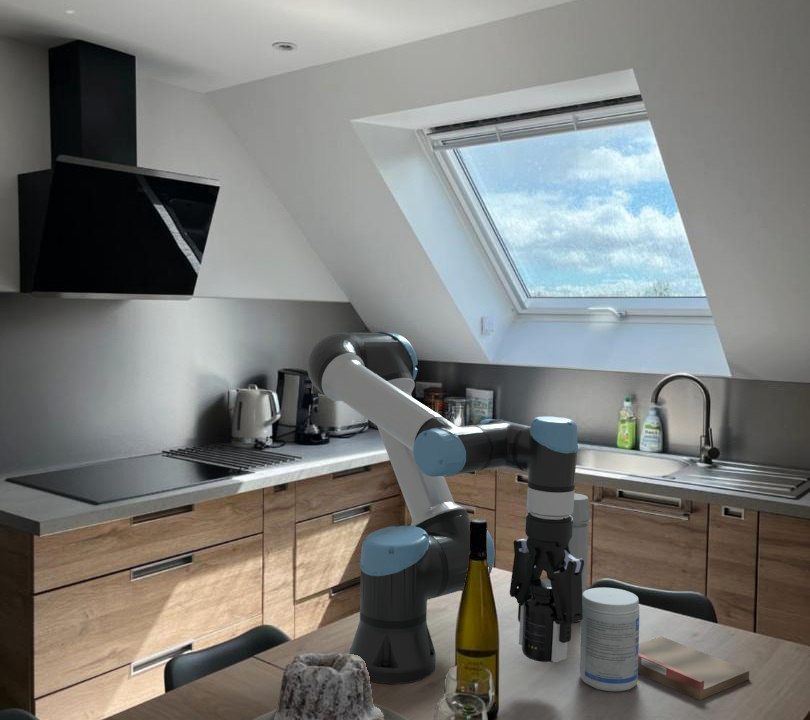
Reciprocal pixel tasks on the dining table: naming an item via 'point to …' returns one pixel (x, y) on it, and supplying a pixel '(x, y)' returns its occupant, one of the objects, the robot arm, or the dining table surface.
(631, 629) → the supplement tub
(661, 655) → the beige hardcover book
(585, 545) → the water bottle
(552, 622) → the supplement bottle
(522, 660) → the dining table surface
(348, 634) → the dining table surface
